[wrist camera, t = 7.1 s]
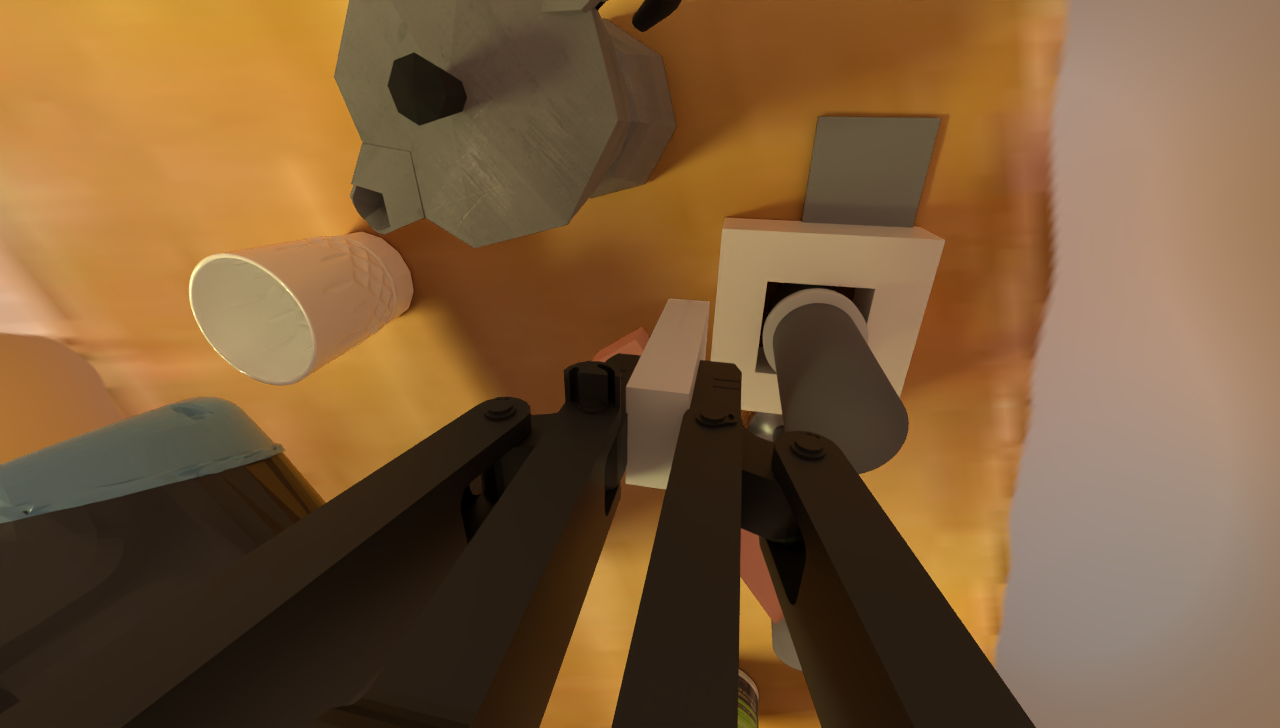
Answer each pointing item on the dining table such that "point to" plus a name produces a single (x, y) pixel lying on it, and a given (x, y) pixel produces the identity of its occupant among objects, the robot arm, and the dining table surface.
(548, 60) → the coffeepot
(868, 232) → the socket block
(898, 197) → the coaster
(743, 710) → the coffee can
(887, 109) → the dining table surface
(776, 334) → the plug
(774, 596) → the pink grey-tipped stick
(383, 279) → the white cup
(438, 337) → the dining table surface
